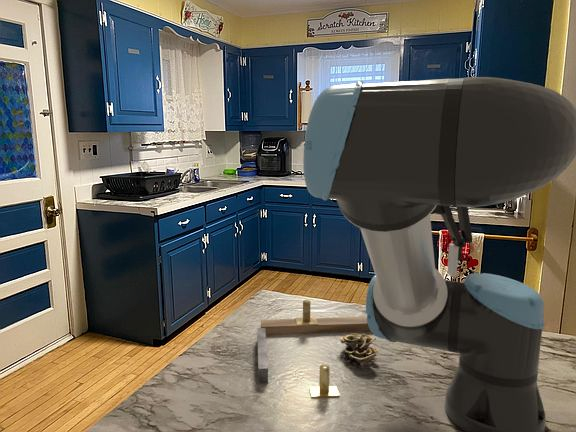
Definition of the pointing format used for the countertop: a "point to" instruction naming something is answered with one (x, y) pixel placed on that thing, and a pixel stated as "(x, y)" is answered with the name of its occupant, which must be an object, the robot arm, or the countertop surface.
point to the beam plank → (314, 324)
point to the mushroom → (359, 350)
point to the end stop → (262, 356)
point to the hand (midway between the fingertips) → (429, 275)
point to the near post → (324, 385)
